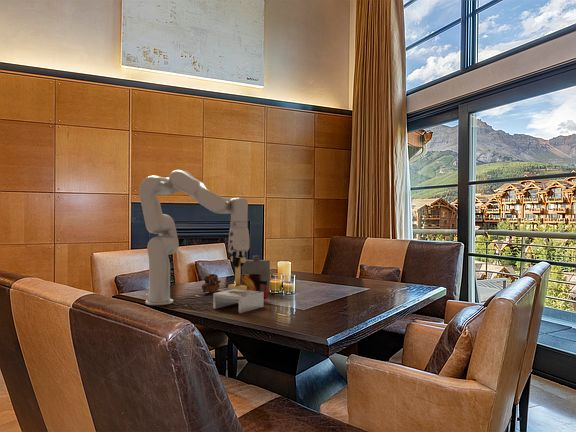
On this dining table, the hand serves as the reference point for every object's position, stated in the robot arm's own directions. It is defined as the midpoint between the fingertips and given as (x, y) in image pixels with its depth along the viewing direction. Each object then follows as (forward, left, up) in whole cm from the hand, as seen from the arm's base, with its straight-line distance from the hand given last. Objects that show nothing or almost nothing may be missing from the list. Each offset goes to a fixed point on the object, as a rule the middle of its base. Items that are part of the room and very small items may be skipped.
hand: (238, 265), depth 189 cm
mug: (-5, +19, -19) cm, 28 cm away
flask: (-17, +34, -19) cm, 43 cm away
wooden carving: (-37, +21, -19) cm, 46 cm away
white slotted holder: (0, 0, -19) cm, 19 cm away
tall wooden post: (0, 0, -11) cm, 11 cm away
